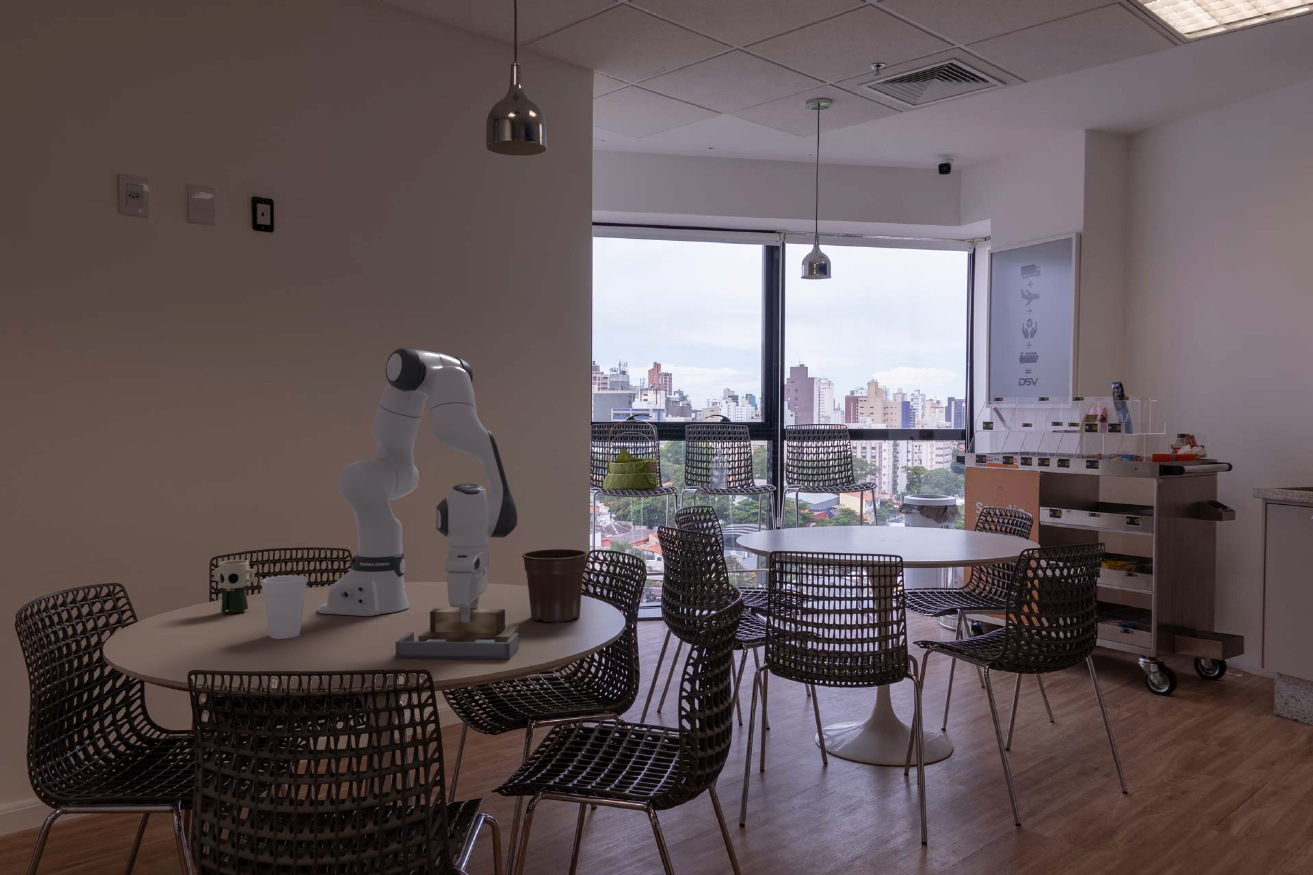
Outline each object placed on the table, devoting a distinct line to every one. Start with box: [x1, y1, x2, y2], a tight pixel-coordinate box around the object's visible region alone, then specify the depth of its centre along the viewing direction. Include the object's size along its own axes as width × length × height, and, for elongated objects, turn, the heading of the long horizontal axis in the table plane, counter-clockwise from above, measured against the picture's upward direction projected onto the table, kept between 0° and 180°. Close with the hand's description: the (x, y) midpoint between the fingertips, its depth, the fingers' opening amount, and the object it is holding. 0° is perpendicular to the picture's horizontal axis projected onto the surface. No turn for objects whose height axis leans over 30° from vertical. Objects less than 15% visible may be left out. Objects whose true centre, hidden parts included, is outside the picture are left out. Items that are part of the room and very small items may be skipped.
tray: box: [395, 631, 519, 661], centre depth 196 cm, size 24×9×3 cm, turn 87°
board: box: [418, 625, 520, 642], centre depth 206 cm, size 20×10×2 cm, turn 87°
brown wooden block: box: [429, 608, 506, 633], centre depth 206 cm, size 16×4×4 cm, turn 87°
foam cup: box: [261, 575, 307, 640], centre depth 212 cm, size 10×9×13 cm
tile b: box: [475, 640, 495, 642], centre depth 197 cm, size 4×4×2 cm
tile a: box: [426, 639, 447, 642], centre depth 198 cm, size 4×4×2 cm
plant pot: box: [521, 548, 588, 623], centre depth 230 cm, size 16×16×16 cm
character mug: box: [213, 559, 255, 614], centre depth 236 cm, size 11×7×13 cm, turn 82°
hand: (469, 619), depth 206 cm, fingers open, 4 cm apart
